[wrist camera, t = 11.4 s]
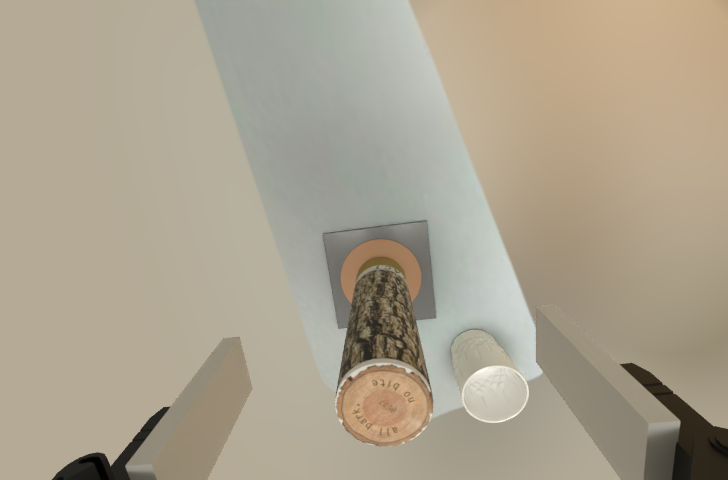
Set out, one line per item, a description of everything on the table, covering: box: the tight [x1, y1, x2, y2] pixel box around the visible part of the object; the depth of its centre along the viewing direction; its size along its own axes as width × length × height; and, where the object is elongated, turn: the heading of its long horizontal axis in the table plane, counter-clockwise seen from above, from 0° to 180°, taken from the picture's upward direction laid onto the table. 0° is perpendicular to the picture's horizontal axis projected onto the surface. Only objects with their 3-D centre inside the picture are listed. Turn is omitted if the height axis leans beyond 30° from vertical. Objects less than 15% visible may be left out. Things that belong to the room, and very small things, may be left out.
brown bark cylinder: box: [336, 257, 433, 447], centre depth 37 cm, size 7×7×25 cm
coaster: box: [323, 221, 436, 329], centre depth 50 cm, size 14×14×1 cm
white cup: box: [451, 330, 529, 423], centre depth 48 cm, size 8×8×10 cm
